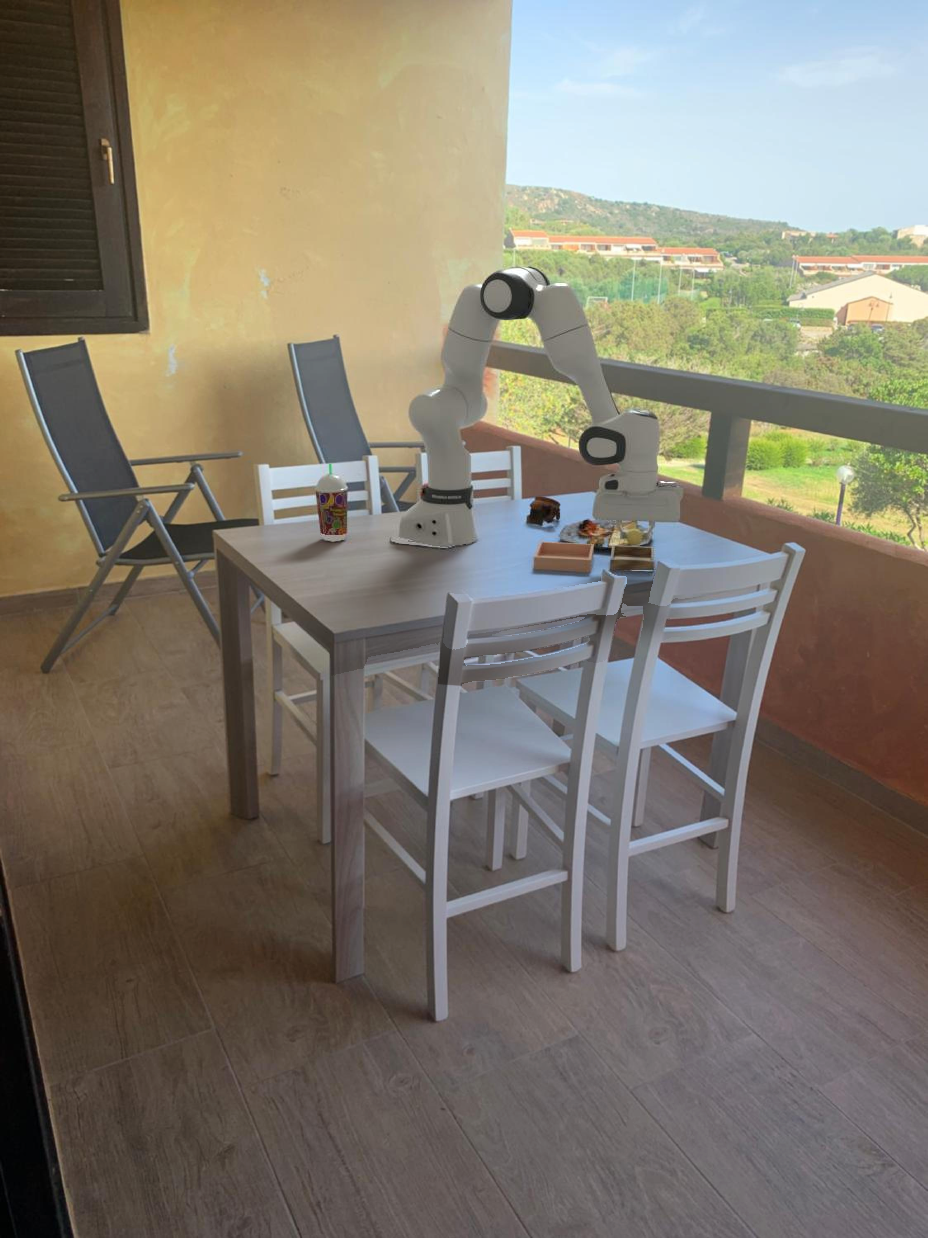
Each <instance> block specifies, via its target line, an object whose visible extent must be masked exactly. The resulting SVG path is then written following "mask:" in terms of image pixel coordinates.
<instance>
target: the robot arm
mask: <svg viewBox="0 0 928 1238" xmlns="http://www.w3.org/2000/svg"><path fill="white" fill-rule="evenodd" d="M527 318H528V319H529V320H530V321H531V320H532V322H533V323H534V324H535V326H536V328H537V330H538V333H539V334H540V338H541V342H542V345H543V347H544V350H545V354H546V355H547V357H548V360H549V362H550V363H551V365H552V367H553V369H555V371H556V372H558V373H559V374H562V375H563V376H566V377H567V378H569V379H570V380H571V381H573V382H574V383H575V384H576V385H577V386H578V388H579V389H580V392H581V394H582V397H583V400H584V403H585V404H586V407H587V410H588V412H589V414H590V417H591V422H592V423H591V424H592V425H591V426H589V427H587V428H586V429H585V430H584V431H583V432H582V433H581V435H580V437H579V440H578V451H579V454H580V456H581V458H582V459H583V460H584V461H585V462H587V464H589V465H591V466H600V467H603V466H606V465H607V466H608V465H613V464H618V471H617V472H613V473H609V474H606V475H602V476H601V477H600V479H599V483H598V484H599V485H598V486H599V488H598V489H597V490H596V493H595V496H594V501H593V505H592V506H593V507H592V515H591V516H592V518H594V520H610V521H611V520H612V521H616V526H617V528H618V530H619V531H620V539H626V533H627V530H623V529H622V527H621V525H622V522H630V521H637V522H648V526H649V527H647V529H648V530H647V531H643V540H649V536H650V533H651V531H652V532H653V530H654V528H655V527H656V523H672V524H673V523H678V522H679V520H680V519H681V503H680V502H681V501H682V499H683V497H684V487H683V486H682V485H681V484H680V483H678V482H677V481H669V482H668V481H658V476H659V475H658V474H659V465H658V455H659V453H660V444H661V443H660V440H661V431H660V430H661V429H660V422H659V421H660V420H659V418H658V416H657V415H656V414H655V413H654V412H652V411H650V410H646V409H642V408H627V409H626V410H625V411H623V412H620V411H619V409H618V406H617V404H616V402H615V400H614V397H613V395H612V392H611V389H610V386H609V384H608V381H607V378H606V377H605V374H604V371H603V369H602V365H601V360H600V358H599V355H598V352H597V351H598V350H597V347H596V344H595V339H594V336H593V333H592V329H591V327H590V323H589V321H588V318H587V316H586V312H585V310H584V308H583V305H582V303H581V301H580V299H579V298H578V296H577V293H576V292H575V290H574V289H573V287H572V286H571V285H569V284H567V283H563V282H556V283H550V280H549V277H548V276H547V275H546V274H545V273H544V271H541V270H540V269H538V268H536V267H534V266H533V267H532V266H513V267H510V268H505V269H499V270H497V271H494V272H493V273H491V274H490V275H489V276H488V277H487V278H486V279H485V280H484V281H483V284H482V283H481V284H480V283H472V284H469V285H466V286H465V287H464V288H463V289H462V290H461V293H460V295H459V296H458V299H457V301H456V303H455V305H454V308H453V311H452V314H451V316H450V319H449V323H448V326H447V331H446V334H445V337H444V341H443V344H442V349H441V352H440V361H441V364H442V365H443V366H444V382H443V384H442V386H440V387H435V388H430V389H426V390H424V391H422V392H421V393H419V394H417V395H416V396H414V398H413V399H412V400H411V402H410V403H409V406H408V418H409V422H410V424H411V426H412V427H413V428H414V430H416V431H417V433H418V434H419V435H420V438H421V440H422V442H423V445H424V450H425V453H426V459H427V460H426V461H427V464H426V465H427V482H424V484H423V485H421V488H420V491H419V496H420V500H419V501H417V502H416V503H414V504H413V505H412V506H411V507H409V509H407V510H405V512H404V513H403V514H402V516H401V518H400V521H399V528H398V529H399V535H398V537H400V538H404V539H410V540H412V541H410V540H408V542H416V543H422V544H428V545H432V546H440V547H449V546H453V545H460V546H463V545H462V544H466V545H470V544H473V543H475V542H476V541H477V540H478V535H477V531H476V528H475V522H474V515H473V514H474V513H473V506H474V486H473V484H472V456H471V453H470V452H469V451H468V450H467V449H466V448H465V446H464V443H463V440H462V435H461V430H463V429H467V428H470V427H472V426H473V425H475V424H476V423H479V421H481V420H482V419H483V418H484V417H485V415H486V413H487V410H488V399H487V396H486V394H485V392H484V376H485V375H484V373H485V370H486V365H487V361H488V358H489V354H490V351H491V348H492V344H493V341H494V339H495V338H494V337H495V334H496V330H497V327H498V325H499V323H500V321H513V320H525V319H527ZM472 542H473V543H472Z"/></svg>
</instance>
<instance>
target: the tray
mask: <svg viewBox="0 0 928 1238" xmlns="http://www.w3.org/2000/svg"><path fill="white" fill-rule="evenodd" d="M654 568H655V547H654V546H641V545H639V546H620V545H612V549H611V552H610V562H609V571H619V570H653V571H654V570H655V569H654Z"/></svg>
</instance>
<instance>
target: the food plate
mask: <svg viewBox="0 0 928 1238" xmlns="http://www.w3.org/2000/svg"><path fill="white" fill-rule="evenodd" d="M621 527H622V529H623V530H627V533H628V531H629V530H631V529H639V530H640V531H641V532H642V533H643V531H647V530H648V527H644V526H642V525H641V524H638V521H622V525H621ZM627 533H626V535H627ZM653 534H654V532H653V530H652V531H651V533H650V536H649V540H643V541H642V542H641V543H640V544H639V545H636V546H642V545H646V544H649V542H650V541H651V539H652V537H653ZM557 536H558V538H560V539H561V540H562V541H563V542H566V543H579V544H582V543H585V542H586V543H585V544H594V549H602V550H603V549H605V550H610V549H611V550H612V545H620V546H633V545H630V544H629V543H628V542H627V540H626V539H620V531H619V530H618V528H617V526H616V520H596V519H594V520H591V519H590V518H586V519H584V520H583V521H582V520H581V521H577V522H574V523H573V522H572V523H570V524H567V525H564V527H563V528H562V529H561V531H560V532H559V533H558V535H557ZM578 540H580V541H579V542H578ZM581 542H582V543H581ZM605 544H607V545H606V546H603V545H605Z"/></svg>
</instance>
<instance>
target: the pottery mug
mask: <svg viewBox="0 0 928 1238" xmlns="http://www.w3.org/2000/svg"><path fill="white" fill-rule="evenodd" d="M529 507H530V511H529V514H528V515H526V522H525V523H527V524H532V525H537V526H540V527H543V525H544V524H543V523H544V521H545V523H547V524H552V523H553V522H554V519H555V521H558V520H560V519H561V508H560V507H561V503H560V502H559V501H557V500H555V499H554V498H549V497H547V496H540V495H539V496H535V498H534V500H533V501H532V502H531V503H530V504H529Z"/></svg>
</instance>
